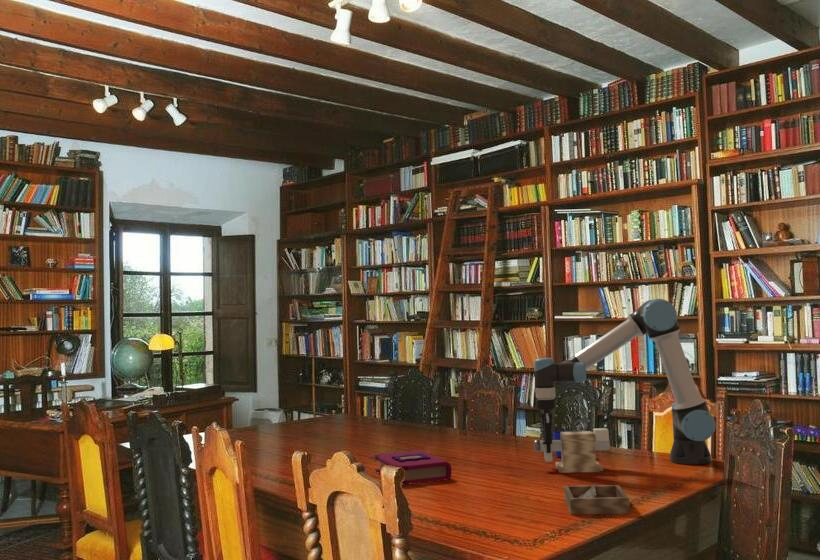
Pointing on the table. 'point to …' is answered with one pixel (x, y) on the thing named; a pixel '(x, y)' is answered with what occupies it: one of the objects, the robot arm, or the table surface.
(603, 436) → the spacer
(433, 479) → the book
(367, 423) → the table surface
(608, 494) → the wooden tray
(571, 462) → the block
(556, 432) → the mug
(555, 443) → the shaft
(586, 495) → the rock sample
